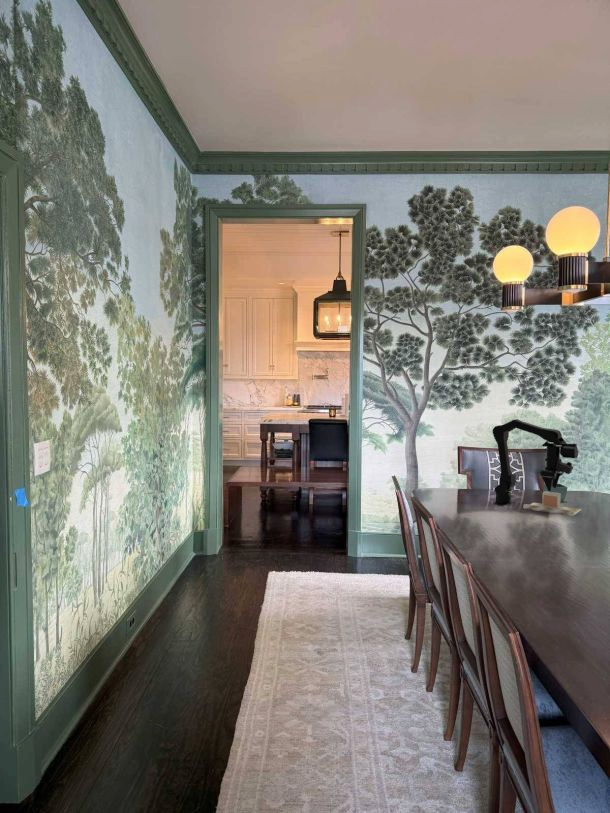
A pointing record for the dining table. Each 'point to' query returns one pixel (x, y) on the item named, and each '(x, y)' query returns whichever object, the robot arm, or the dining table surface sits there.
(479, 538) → the dining table surface
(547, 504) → the carton
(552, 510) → the shelf board
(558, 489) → the flower pot
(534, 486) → the dining table surface
